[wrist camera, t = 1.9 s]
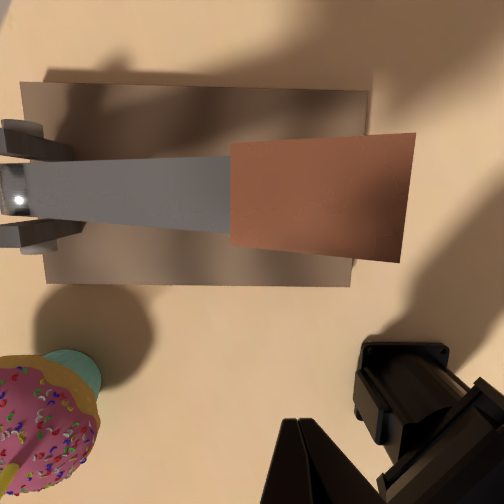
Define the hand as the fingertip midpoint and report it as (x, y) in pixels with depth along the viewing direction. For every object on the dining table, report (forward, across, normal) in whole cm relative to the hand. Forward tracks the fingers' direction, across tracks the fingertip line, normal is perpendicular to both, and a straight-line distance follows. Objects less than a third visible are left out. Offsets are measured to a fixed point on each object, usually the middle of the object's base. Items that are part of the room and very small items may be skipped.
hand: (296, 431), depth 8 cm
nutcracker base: (+13, +4, -6) cm, 15 cm away
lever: (+6, +5, -6) cm, 10 cm away
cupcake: (+13, +15, +7) cm, 21 cm away
